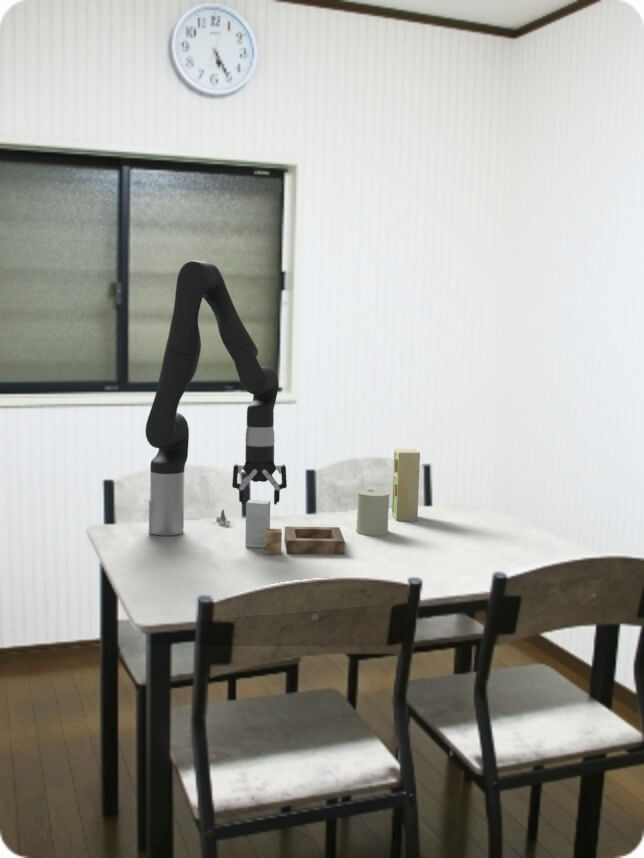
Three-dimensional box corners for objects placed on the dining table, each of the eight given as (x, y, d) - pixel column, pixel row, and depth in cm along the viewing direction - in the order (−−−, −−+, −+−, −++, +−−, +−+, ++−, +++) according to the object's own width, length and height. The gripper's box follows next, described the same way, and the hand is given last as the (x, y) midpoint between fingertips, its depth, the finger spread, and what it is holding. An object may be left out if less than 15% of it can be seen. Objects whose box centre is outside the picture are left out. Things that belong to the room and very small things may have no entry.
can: (380, 527, 271) (382, 487, 270) (393, 535, 262) (395, 493, 261) (351, 528, 268) (353, 488, 267) (362, 536, 260) (364, 494, 258)
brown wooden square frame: (286, 553, 239) (287, 540, 239) (284, 538, 254) (284, 526, 253) (344, 554, 240) (344, 541, 240) (338, 539, 255) (339, 527, 255)
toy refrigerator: (388, 514, 288) (391, 448, 285) (412, 515, 288) (415, 448, 286) (393, 520, 280) (396, 452, 277) (417, 521, 281) (420, 452, 278)
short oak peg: (265, 555, 237) (266, 532, 236) (265, 551, 241) (265, 528, 240) (281, 555, 237) (281, 532, 237) (280, 551, 241) (281, 528, 241)
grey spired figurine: (209, 522, 272) (209, 507, 271) (231, 521, 274) (231, 506, 273) (218, 535, 257) (218, 519, 257) (241, 534, 259) (242, 518, 259)
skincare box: (269, 544, 248) (271, 500, 246) (267, 548, 243) (268, 504, 242) (247, 543, 248) (248, 499, 247) (244, 547, 244) (245, 502, 242)
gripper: (232, 445, 238) (231, 506, 240) (287, 445, 239) (286, 507, 241) (232, 440, 245) (232, 500, 247) (286, 441, 246) (285, 501, 248)
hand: (259, 503), depth 244 cm, fingers open, 8 cm apart
